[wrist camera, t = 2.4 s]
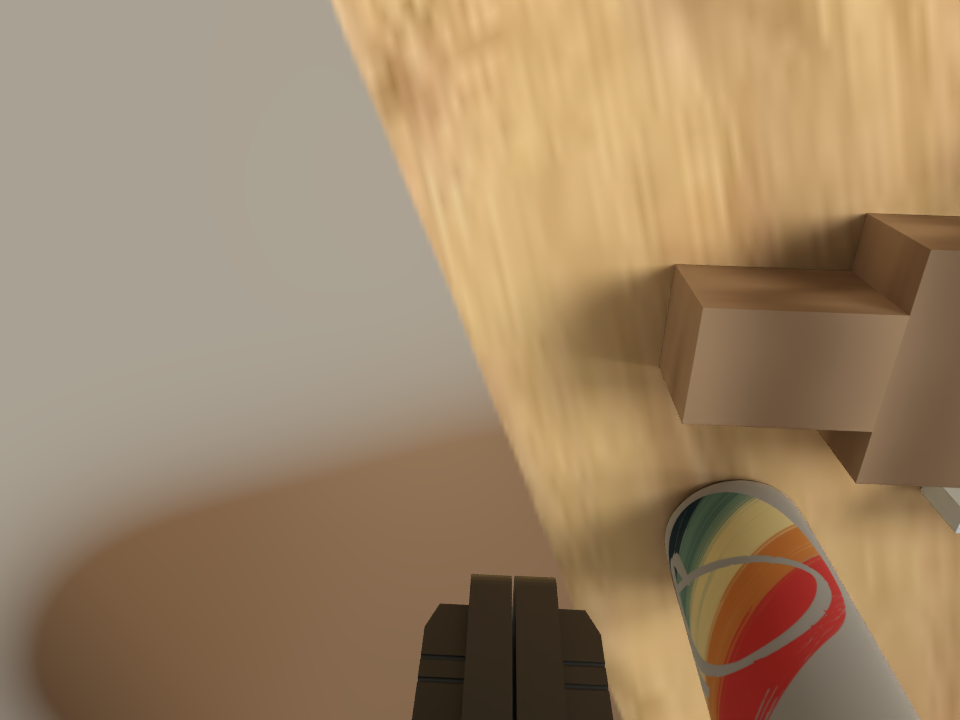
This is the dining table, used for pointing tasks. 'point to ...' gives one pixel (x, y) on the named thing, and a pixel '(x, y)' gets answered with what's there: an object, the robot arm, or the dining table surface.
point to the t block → (833, 350)
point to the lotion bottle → (772, 613)
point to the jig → (945, 504)
